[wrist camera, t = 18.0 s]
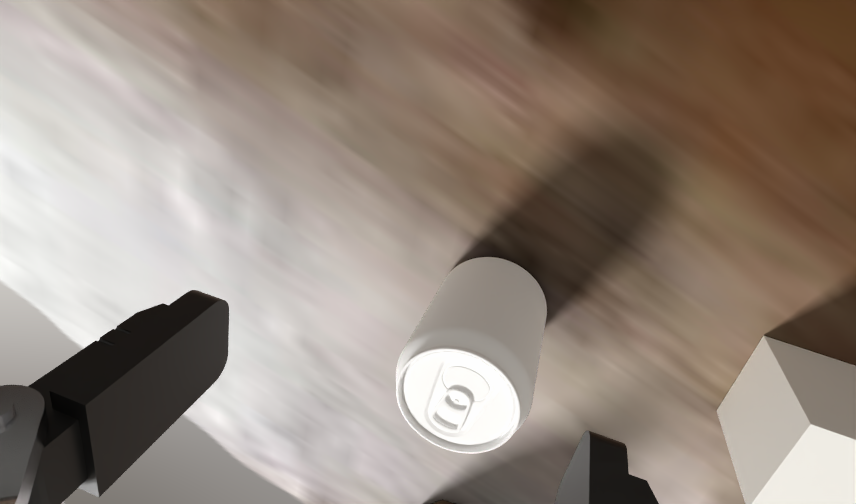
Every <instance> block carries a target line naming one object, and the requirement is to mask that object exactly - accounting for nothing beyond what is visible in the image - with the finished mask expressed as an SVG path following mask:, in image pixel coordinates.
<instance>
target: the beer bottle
mask: <svg viewBox="0 0 856 504" xmlns="http://www.w3.org/2000/svg"><path fill="white" fill-rule="evenodd" d="M432 504H454V503H451V502H448V501H445V500H440V501H438V502H435V503H432Z"/></svg>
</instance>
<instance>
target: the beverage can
mask: <svg viewBox="0 0 856 504" xmlns="http://www.w3.org/2000/svg"><path fill="white" fill-rule="evenodd" d="M546 316H547V305H546V299H545V296H544V293H543V291H542V289H541V287H540V285H539V284H538V282H537V281H536V280H535V279H534V278H533V276H532V275H531V274H530V273H528V272H527V271H526V270H525V269H523V268H522V267H520V266H519V265H517V264H515V263H513V262H510V261H508V260H505V259H501V258H495V257H480V258H474V259H470V260H468V261H465V262H463V263H461V264H459V265H458V266H456V267H455V268H454V269H453V270H452V271H451V272H450V273H449V274H448V275H447V276H446V278H445V279H444V281H443V283H442V284H441V286H440V288H439V289H438V291H437V293H436V295H435V296H434V298H433V300H432V301H431V303H430V305H429V306H428V308H427V310H426V312H425V313H424V315H423V317H422V318H421V320H420V322H419V324H418V325H417V327H416V329H415V330H414V332H413V334H412V335H411V337H410V339H409V341H408V342H407V344H406V346H405V347H404V349H403V351H402V353H401V355H400V357H399V360H398V363H397V368H396V396H397V402H398V405H399V408H400V410H401V412H402V414H403V416H404V418H405V419H406V421H407V422H408V423H409V425H410V426H411V427H412V428H413V429H414V430H415V431H416V432H417V433H418V434H419V435H421V436H422V437H423V438H425V439H426V440H428V441H429V442H431V443H433V444H434V445H436V446H439V447H441V448H444V449H446V450H450V451H454V452H459V453H470V454H471V453H482V452H487V451H490V450H493V449H495V448H498V447H499V446H501V445H503V444H504V443H505V442H507V441H508V440H509V439H510V438H511V437H512V435H513V434H514V433H515V432H516V431H517V430H518V429H519V428H520V427H521V426H522V424H523V423H524V422H525V420H526V418H527V416H528V414H529V412H530V409H531V405H532V400H533V394H534V388H535V382H536V376H537V370H538V364H539V358H540V352H541V347H542V341H543V335H544V329H545V323H546Z"/></svg>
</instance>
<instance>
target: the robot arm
mask: <svg viewBox="0 0 856 504" xmlns="http://www.w3.org/2000/svg"><path fill="white" fill-rule="evenodd" d="M228 330H229V306H228V303H227V302H226V301H225V300H222V299H219V298H216V297H214V296H211V295H208V294H205V293H202V292H199V291H197V290H191V291H189V292H187V293H186V294H184V295H183V296H181V297H180V298H179V299H177V300H176V301H174V302H173V303H172V304H170V305H169V306H168V305H166V304H160V305H157V306H155V307H152V308H149V309H146V310H143V311H140V312H137V313H136V314H134V315H133V316H131V317H130V318H129V319H127V320H126V321H124V322H123V323H121V324H120V325H118V326H117V328H116V329H115V330H114V329H112V330H111V331H109V332H108V333H106V334H105V335H103V336H102V337H100V340H99V341H95V342H93V343H92V344H90V345H89V346H87V347H86V348H84V349H83V350H81V351H80V352H78V353H77V354H75V355H74V356H72V357H71V358H69V359H68V360H66V361H65V362H63V363H62V364H61V365H59V366H58V367H56V368H55V369H53V370H52V371H50V372H49V373H47V374H46V375H44V376H43V377H41V378H40V379H38V380H37V381H35V382H34V383H33V384H31V385H29V386H22V385H3V386H0V504H64V500H65V499H66V498H68V497H69V496H70V495H71V494H72V493H73V492H74V491H75V490H76V489H77V488H79V489H81V490H84V491H86V492H88V493H91V494H93V495H95V496H97V497H100V496H101V495H102V494H103V493H104V492H105V491H106V490H107V489H108V488H109V487H110V486H111V485H112V484H113V483H114V482H115V481H116V480H117V479H118V478H119V477H120V476H121V475H122V474H123V473H124V472H125V471H126V470H127V469H128V468H129V467H130V466H131V465H132V464H133V463H134V462H135V461H136V460H137V459H138V458H139V457H140V456H141V455H142V454H143V453H144V452H145V451H146V450H147V449H148V448H149V447H150V446H151V445H152V444H153V443H154V442H155V441H156V440H157V439H158V438H159V437H160V436H161V435H162V434H163V433H164V432H165V431H166V430H167V429H168V428H169V427H170V426H171V425H172V424H173V423H174V422H175V421H176V420H177V419H178V418H179V417H180V416H181V415H182V414H183V413H184V412H185V411H186V410H187V409H188V408H189V407H190V406H191V405H192V404H193V403H194V402H195V401H196V400H197V399H198V398H199V397H200V396H201V395H202V394H203V393H204V392H205V391H206V390H207V389H208V388H209V387H210V386H211V385H212V384H213V383H214V382H215V381H216V380H217V379H218V377H219V376H220V375H221V373H222V371H223V369H224V367H225V364H226V361H227V357H228ZM555 504H659V503H658V501H657V500H656V498H655V496H654V494H653V492H652V490H651V488H650V486H649V484H648V482H647V481H646V480H643V479H640V478H638V477H635V476H632V475H629V473H628V459H627V448H626V445H625V444H624V443H621V442H619V441H616V440H613V439H610V438H607V437H604V436H602V435H599V434H596V433H593V432H590V431H586V432H585V433H584V434H583V436H582V438H581V440H580V442H579V444H578V446H577V449H576V451H575V453H574V455H573V457H572V459H571V461H570V463H569V465H568V468H567V470H566V472H565V474H564V476H563V478H562V480H561V483H560V486H559V489H558V492H557V496H556V500H555Z"/></svg>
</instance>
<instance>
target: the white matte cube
mask: <svg viewBox="0 0 856 504" xmlns="http://www.w3.org/2000/svg"><path fill="white" fill-rule="evenodd" d="M717 413H718V417H719V420H720V423H721V426H722V430H723V433H724V436H725V439H726V442H727V446H728V449H729V452H730V455H731V459H732V462H733V465H734V468H735V472H736V475H737V478H738V481H739V484H740V488H741V491H742V494H743V497H744V501H745V504H856V366H855V365H852V364H849V363H846V362H843V361H840V360H837V359H834V358H830V357H827V356H824V355H821V354H818V353H815V352H812V351H809V350H806V349H803V348H800V347H797V346H794V345H791V344H788V343H785V342H782V341H779V340H776V339H773V338H769V337H766V336H763V337H762V339H761V341H760V342H759V344H758V345H757V347H756V349H755V350H754V352H753V353H752V355H751V357H750V358H749V360H748V361H747V363H746V365H745V366H744V368H743V369H742V371H741V373H740V374H739V376H738V377H737V379H736V381H735V382H734V384H733V385H732V387H731V388H730V390H729V392H728V393H727V395H726V396H725V398H724V400H723V401H722V403H721V404H720V406H719V408H718V409H717Z"/></svg>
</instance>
